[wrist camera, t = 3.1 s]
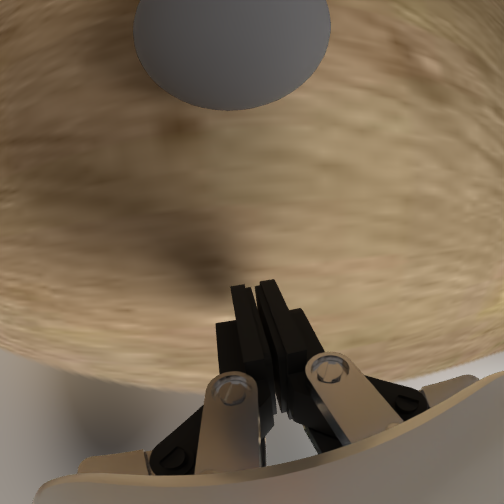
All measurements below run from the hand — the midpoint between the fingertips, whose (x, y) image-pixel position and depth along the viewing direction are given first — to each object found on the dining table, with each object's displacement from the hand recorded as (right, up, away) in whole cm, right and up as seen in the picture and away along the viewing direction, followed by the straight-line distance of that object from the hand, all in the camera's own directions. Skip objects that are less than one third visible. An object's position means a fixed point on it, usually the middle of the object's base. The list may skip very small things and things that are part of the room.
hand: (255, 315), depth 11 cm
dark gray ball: (-1, +9, -5) cm, 10 cm away
